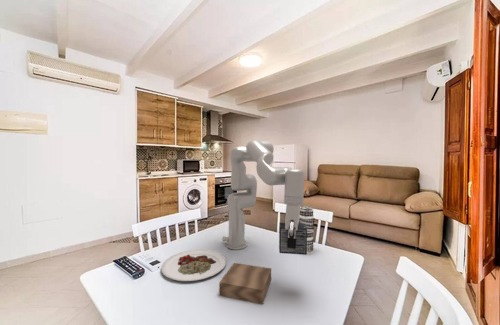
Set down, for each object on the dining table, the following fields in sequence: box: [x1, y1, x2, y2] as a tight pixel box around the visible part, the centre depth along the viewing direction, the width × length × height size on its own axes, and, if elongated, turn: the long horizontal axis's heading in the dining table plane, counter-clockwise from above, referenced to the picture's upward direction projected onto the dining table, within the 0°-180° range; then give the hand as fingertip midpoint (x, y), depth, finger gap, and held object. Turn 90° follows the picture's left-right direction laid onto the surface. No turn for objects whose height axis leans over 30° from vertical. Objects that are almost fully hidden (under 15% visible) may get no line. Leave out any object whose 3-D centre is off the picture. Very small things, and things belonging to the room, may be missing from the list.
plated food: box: [160, 249, 227, 282], centre depth 104 cm, size 30×30×3 cm
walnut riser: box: [218, 262, 272, 305], centre depth 87 cm, size 17×16×5 cm
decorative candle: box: [299, 205, 316, 255], centre depth 122 cm, size 9×9×25 cm
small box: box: [278, 222, 308, 256], centre depth 86 cm, size 11×6×10 cm, turn 84°
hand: (292, 243), depth 86 cm, fingers closed on small box, 7 cm apart
